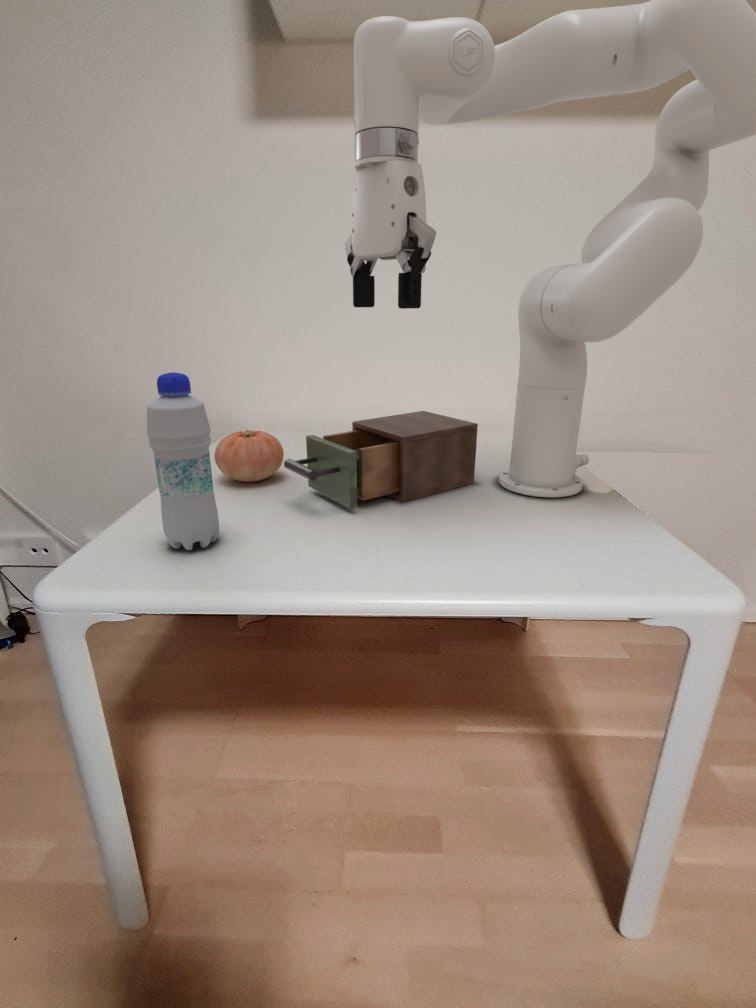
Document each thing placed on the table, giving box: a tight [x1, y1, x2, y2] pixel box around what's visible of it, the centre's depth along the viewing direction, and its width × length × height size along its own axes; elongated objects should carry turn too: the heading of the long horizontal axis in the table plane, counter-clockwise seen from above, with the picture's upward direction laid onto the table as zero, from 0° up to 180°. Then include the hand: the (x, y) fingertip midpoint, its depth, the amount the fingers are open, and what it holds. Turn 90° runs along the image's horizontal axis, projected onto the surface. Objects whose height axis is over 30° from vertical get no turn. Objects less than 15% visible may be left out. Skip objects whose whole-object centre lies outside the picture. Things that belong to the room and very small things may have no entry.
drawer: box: [283, 429, 400, 509], centre depth 79 cm, size 18×11×8 cm, turn 127°
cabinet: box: [351, 410, 479, 503], centre depth 85 cm, size 15×13×10 cm
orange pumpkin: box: [213, 429, 285, 483], centre depth 87 cm, size 11×11×8 cm
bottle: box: [146, 371, 220, 551], centre depth 62 cm, size 7×7×20 cm
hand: (385, 307), depth 71 cm, fingers open, 9 cm apart
